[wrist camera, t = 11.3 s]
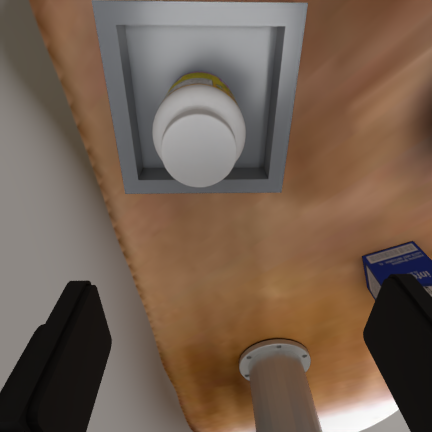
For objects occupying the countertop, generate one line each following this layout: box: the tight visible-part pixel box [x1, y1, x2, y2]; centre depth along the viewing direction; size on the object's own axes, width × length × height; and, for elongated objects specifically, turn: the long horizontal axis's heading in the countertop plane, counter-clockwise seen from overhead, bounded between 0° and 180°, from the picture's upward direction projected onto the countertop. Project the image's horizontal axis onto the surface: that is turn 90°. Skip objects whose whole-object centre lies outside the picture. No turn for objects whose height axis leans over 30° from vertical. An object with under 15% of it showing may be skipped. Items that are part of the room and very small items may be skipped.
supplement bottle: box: [152, 71, 246, 187], centre depth 24 cm, size 7×7×13 cm
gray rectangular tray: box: [92, 0, 308, 194], centre depth 28 cm, size 16×16×4 cm
